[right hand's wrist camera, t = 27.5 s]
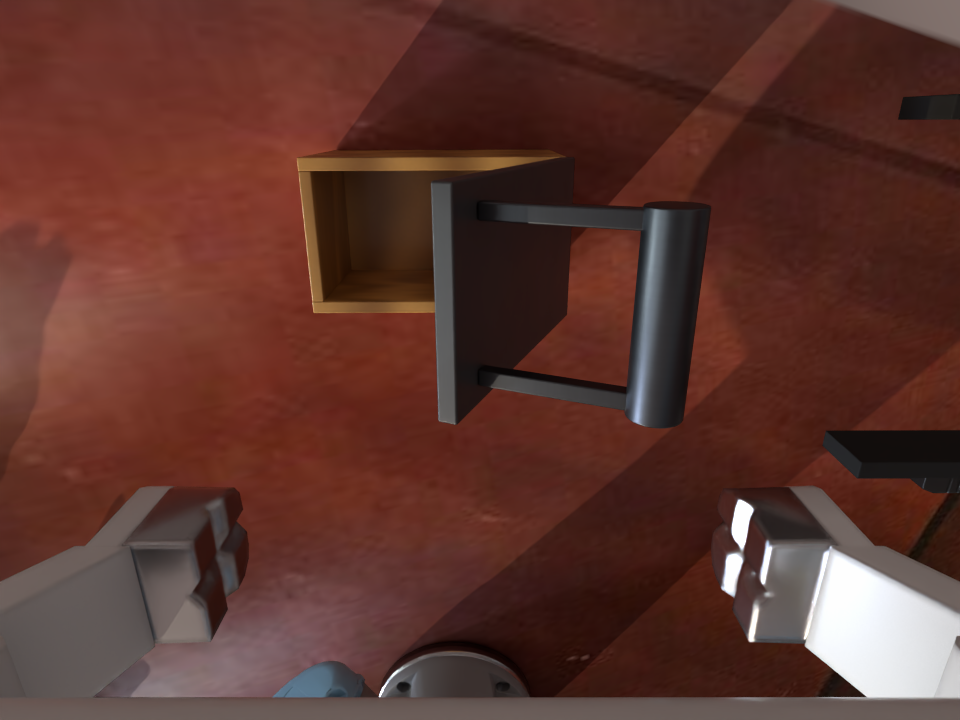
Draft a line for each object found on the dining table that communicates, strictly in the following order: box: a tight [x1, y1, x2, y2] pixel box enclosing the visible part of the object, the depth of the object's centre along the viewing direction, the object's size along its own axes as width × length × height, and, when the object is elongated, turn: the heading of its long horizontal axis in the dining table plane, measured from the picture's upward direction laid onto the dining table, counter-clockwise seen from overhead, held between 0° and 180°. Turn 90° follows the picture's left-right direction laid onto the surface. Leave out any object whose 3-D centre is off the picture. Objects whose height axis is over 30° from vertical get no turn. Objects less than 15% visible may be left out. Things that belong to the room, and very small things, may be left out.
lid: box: [431, 157, 711, 428], centre depth 27 cm, size 16×9×9 cm
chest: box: [297, 149, 566, 313], centre depth 40 cm, size 15×9×9 cm, turn 90°
